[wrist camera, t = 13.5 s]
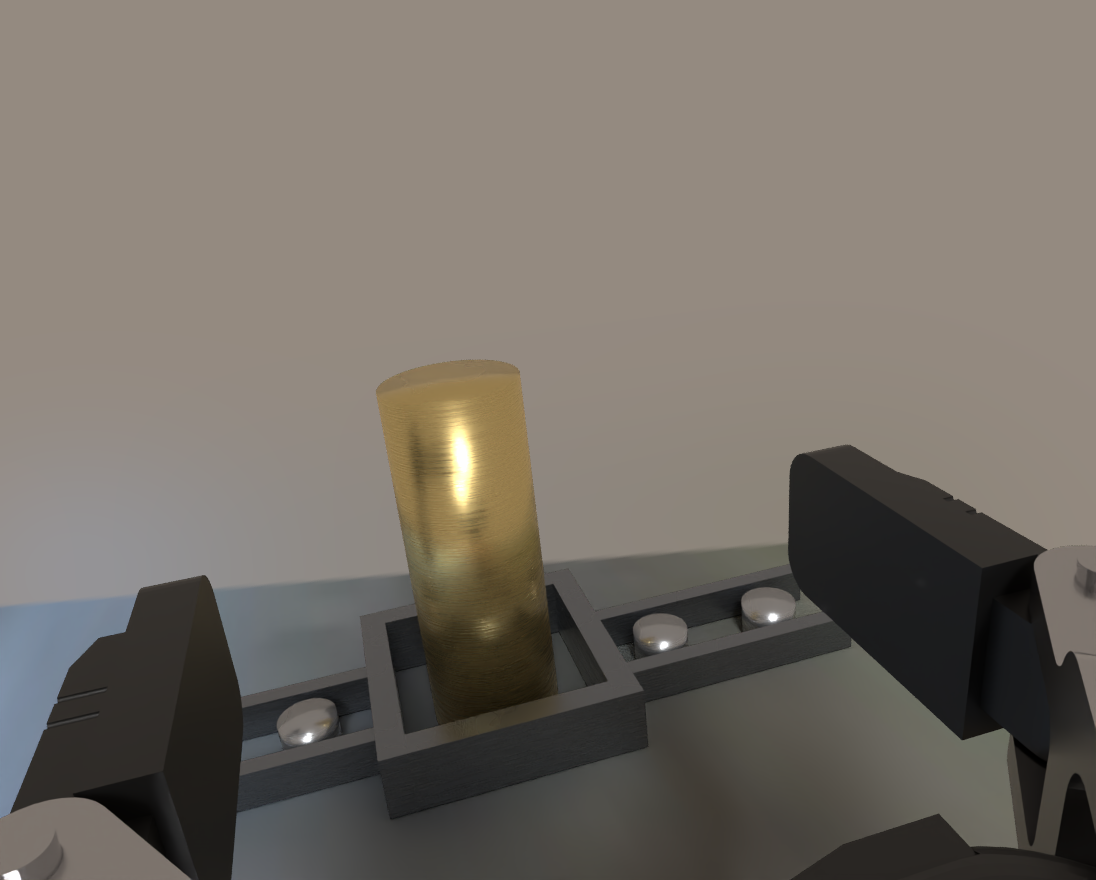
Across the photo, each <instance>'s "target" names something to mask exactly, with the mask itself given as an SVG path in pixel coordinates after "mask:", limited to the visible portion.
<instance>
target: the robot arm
mask: <svg viewBox="0 0 1096 880" xmlns="http://www.w3.org/2000/svg"><path fill="white" fill-rule="evenodd" d="M789 487H790V489H789V539H788V540H789V541H788V555H789V562H790V567H791V570H792V573H793V576H794V578H795V581H796V583H797V584H798V586H799V588H800V589H801V591H802V592H803V593H804V594H805V595H806V596H807V597H808V598H809V599H810V600H811V601H812V602H813V603H814V604H815V605H816V606H818V607H819V608H820V609H821V610H822V611H823V612H824V613H825V614H826V615H827V616H828V617H829V618H831V619H832V620H833V621H834V622H835V623H836V624H837V625H838V626H839V627H840V628H841V629H842V630H843V631H845V632H846V633H847V634H848V635H849V636H850V637H851V638H852V639H853V640H854V641H855V642H856V643H858V644H859V645H860V646H861V647H862V648H863V649H864V650H865V651H866V652H867V653H868V654H869V655H870V656H872V657H873V658H874V659H875V660H876V661H877V662H878V663H879V664H880V665H881V666H882V667H883V668H885V669H886V670H887V671H888V672H889V673H890V674H891V675H892V676H893V677H894V678H895V679H896V680H897V681H899V682H900V683H901V684H902V685H903V686H904V687H905V688H906V689H907V690H908V691H909V692H910V693H912V694H913V695H914V696H915V697H916V698H917V699H918V700H919V701H920V702H921V703H922V704H923V705H924V706H926V707H927V708H928V709H929V710H930V711H931V712H932V713H933V714H934V715H935V716H936V717H937V718H938V719H940V720H941V721H942V722H943V723H944V724H945V725H946V726H947V727H948V728H949V729H950V730H951V731H953V732H954V733H955V734H956V735H957V736H958V737H959V738H960V739H961V740H965V739H969V738H972V737H975V736H978V735H982V734H985V733H988V732H992V731H995V730H998V729H1002V728H1004V729H1006V730H1007V731H1008V732H1009V733H1010V737H1009V744H1008V751H1007V765H1008V772H1009V780H1010V788H1011V795H1012V803H1013V811H1014V818H1015V826H1016V834H1017V841H1018V849H1015V848H1007V847H985V846H976V847H969V846H968V844H967V843H966V842H965V841H964V840H963V839H962V838H961V837H960V836H959V835H958V834H957V833H956V832H955V831H954V829H953V828H952V827H951V826H950V825H949V824H948V823H947V822H946V821H945V820H944V819H943V818H942V817H941V815H940V814H936V815H933V816H930V817H927V818H924V819H921V820H918V821H914V822H911V823H908V824H905V825H902V826H899V827H896V828H893V829H890V830H886V831H883V832H880V833H877V834H874V835H871V836H868V837H865V838H862V839H858V840H855V841H852V842H849V843H846V844H843V845H842V846H840V847H839V848H837V849H836V850H834V851H833V852H831V853H830V854H828V855H827V856H825V857H824V858H822V859H821V860H819V861H818V862H816V863H815V864H813V865H812V866H810V867H809V868H807V869H806V870H804V871H803V872H801V873H800V874H798V875H797V876H795V877H794V878H792V879H791V880H1096V546H1088V545H1074V546H1073V545H1071V546H1062V547H1058V548H1053V549H1050V550H1047V549H1045V548H1043V547H1041V546H1040V545H1038V544H1036V543H1034V542H1033V541H1031V540H1029V539H1027V538H1026V537H1024V536H1022V535H1020V534H1018V533H1017V532H1015V531H1013V530H1012V529H1010V528H1008V527H1006V526H1004V525H1003V524H1001V523H999V522H997V521H996V520H994V519H992V518H990V517H989V516H987V515H985V514H983V513H976V509H974V508H973V507H971V506H969V505H967V504H966V503H964V502H962V501H960V500H959V499H957V500H954V499H953V496H952V495H950V494H948V493H946V492H945V491H943V490H941V489H939V488H938V487H936V486H934V485H932V484H931V483H929V482H927V481H925V480H922V479H919V478H915V477H912V476H909V475H905V474H902V473H899V472H896V471H894V470H893V469H891V468H889V467H888V466H886V465H884V464H882V463H880V462H879V461H877V460H876V459H874V458H872V457H870V456H869V455H867V454H865V453H864V452H862V451H860V450H858V449H857V448H855V447H853V446H851V445H843V446H837V447H832V448H827V449H822V450H818V451H813V452H808V453H803V454H799V455H797V456H796V457H795V458H794V460H793V461H792V464H791V468H790V485H789ZM57 699H58V703H57V704H54V707H53V709H52V712H51V714H50V717H49V719H48V721H47V729H46V730H44V731H43V734H42V736H41V739H40V741H39V744H38V746H37V748H36V751H35V753H34V756H33V758H32V761H31V763H30V766H29V768H28V771H27V773H26V775H25V778H24V780H23V783H22V785H21V788H20V790H19V793H18V795H17V798H16V800H15V802H14V805H13V807H12V810H11V812H10V814H9V815H7V816H5V817H2V818H1V819H0V880H231V875H232V863H233V850H234V838H235V826H236V813H237V801H238V789H239V776H240V764H241V752H242V739H243V711H242V702H241V695H240V690H239V685H238V680H237V676H236V673H235V669H234V665H233V662H232V658H231V654H230V651H229V647H228V643H227V640H226V636H225V632H224V629H223V625H222V621H221V618H220V614H219V610H218V607H217V603H216V599H215V596H214V592H213V589H212V586H211V584H210V582H209V580H208V578H207V577H206V576H205V575H202V576H198V577H193V578H188V579H183V580H178V581H173V582H168V583H163V584H158V585H154V586H149V587H144V588H141V589H140V590H139V592H138V595H137V598H136V601H135V604H134V607H133V610H132V614H131V617H130V620H129V623H128V626H127V629H126V632H124V633H120V634H115V635H110V636H106V637H101V638H98V639H97V640H96V641H95V642H94V643H93V644H92V645H91V646H90V647H89V648H88V649H87V650H86V652H85V653H84V654H83V655H82V656H81V657H80V658H79V659H78V660H77V661H76V662H75V663H74V664H73V665H72V666H71V667H70V668H69V670H68V672H67V675H66V677H65V680H64V682H63V685H62V687H61V690H60V692H59V694H58V697H57Z"/></svg>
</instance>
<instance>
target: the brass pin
mask: <svg viewBox="0 0 1096 880" xmlns="http://www.w3.org/2000/svg"><path fill="white" fill-rule="evenodd" d="M376 395H377V400H378V406H379V411H380V416H381V422H382V427H383V433H384V438H385V444H386V449H387V454H388V460H389V465H390V471H391V475H392V481H393V487H394V492H395V498H396V503H397V508H398V514H399V518H400V524H401V530H402V535H403V541H404V546H405V550H406V557H407V562H408V567H409V573H410V578H411V584H412V589H413V594H414V600H415V605H416V611H417V616H418V621H419V627H420V632H421V637H422V643H423V648H424V654H425V659H426V664H427V670H428V675H429V680H430V686H431V691H432V697H433V702H434V707H435V713H436V718H437V721H438V724H439V725H443V724H447V723H451V722H455V721H458V720H462V719H466V718H470V717H474V716H477V715H481V714H485V713H489V712H493V711H497V710H500V709H504V708H508V707H512V706H516V705H519V704H523V703H527V702H531V701H535V700H539V699H542V698H546V697H550V696H554V695H558V687H557V679H556V671H555V662H554V654H553V646H552V637H551V629H550V621H549V612H548V604H547V596H546V588H545V579H544V571H543V563H542V555H541V547H540V538H539V530H538V521H537V513H536V504H535V496H534V488H533V479H532V472H531V463H530V455H529V446H528V438H527V430H526V422H525V413H524V405H523V396H522V388H521V380H520V372H519V370H518V368H516V367H515V366H513V365H511V364H508V363H504V362H500V361H493V360H461V361H450V362H443V363H437V364H432V365H427V366H422V367H418V368H415V369H411V370H408V371H405V372H402V373H400V374H397V375H395V376H393V377H391V378H389V379H387V380H386V381H384V382H383V383H381V384H380V385H379V386H378V388H377V390H376Z"/></svg>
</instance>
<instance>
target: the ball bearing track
mask: <svg viewBox="0 0 1096 880" xmlns="http://www.w3.org/2000/svg"><path fill="white" fill-rule="evenodd" d="M544 579H545V588H546V596H547V604H548V612H549V621H550V629H551V633H554V632H558V631H559V632H560V634H561V636H562V638H563V640H564V642H565V644H566V646H567V648H568V650H569V652H570V654H571V656H572V657H573V659H574V661H575V663H576V665H577V667H578V669H579V671H580V673H581V675H582V677H583V679H584V681H585V682H586V684H587V686H588V687H584V688H581V689H577V690H573V691H569V692H565V693H561V694H558V695H554V696H550V697H546V698H542V699H539V700H535V701H531V702H527V703H523V704H519V705H516V706H512V707H508V708H504V709H500V710H497V711H493V712H489V713H485V714H481V715H477V716H474V717H470V718H466V719H462V720H458V721H455V722H451V723H447V724H443V725H439V726H435V727H432V728H428V729H424V730H420V731H416V732H412V733H409V734H406V733H405V727H404V721H403V715H402V710H401V704H400V698H399V692H398V687H397V681H396V675H395V671H399V670H403V669H407V668H412V667H416V666H420V665H424V664H426V659H425V654H424V648H423V643H422V637H421V632H420V627H419V621H418V616H417V611H416V605H415V604H412V605H408V606H403V607H399V608H395V609H390V610H386V611H382V612H377V613H373V614H369V615H364V616H360V620H361V628H362V637H363V645H364V653H365V661H366V667H363V668H359V669H355V670H351V671H347V672H343V673H338V674H334V675H330V676H326V677H322V678H318V679H314V680H310V681H305V682H301V683H297V684H293V685H289V686H285V687H281V688H277V689H273V690H268V691H264V692H260V693H256V694H252V695H248V696H244V697H241V702H242V711H243V739H242V741H243V740H247V739H251V738H255V737H259V736H263V735H267V734H270V733H274V732H278V733H279V737H280V741H281V744H282V748H283V751H280V752H277V753H273V754H269V755H265V756H261V757H257V758H253V759H249V760H246V761H242V762H241V764H240V776H239V789H238V801H237V812H239V811H243V810H247V809H251V808H254V807H258V806H262V805H265V804H269V803H273V802H276V801H280V800H284V799H288V798H291V797H295V796H299V795H302V794H306V793H310V792H314V791H317V790H321V789H325V788H328V787H332V786H336V785H339V784H343V783H347V782H351V781H354V780H358V779H362V778H365V777H369V776H373V775H377V774H381V779H382V783H383V788H384V792H385V797H386V801H387V806H388V810H389V815H390V819H392V818H396V817H399V816H403V815H406V814H410V813H413V812H417V811H421V810H424V809H428V808H431V807H435V806H438V805H442V804H445V803H449V802H452V801H456V800H460V799H463V798H467V797H470V796H474V795H477V794H481V793H484V792H488V791H492V790H495V789H499V788H502V787H506V786H509V785H513V784H516V783H520V782H523V781H527V780H531V779H534V778H538V777H541V776H545V775H548V774H552V773H555V772H559V771H563V770H566V769H570V768H573V767H577V766H580V765H584V764H587V763H591V762H595V761H598V760H602V759H605V758H609V757H612V756H616V755H619V754H623V753H626V752H630V751H634V750H637V749H641V748H644V747H648V739H647V726H646V713H645V702H647V701H651V700H655V699H658V698H662V697H666V696H669V695H673V694H677V693H681V692H684V691H688V690H692V689H695V688H699V687H703V686H706V685H710V684H714V683H718V682H721V681H725V680H729V679H732V678H736V677H740V676H744V675H747V674H751V673H755V672H758V671H762V670H766V669H769V668H773V667H777V666H781V665H784V664H788V663H792V662H795V661H799V660H803V659H807V658H810V657H814V656H818V655H821V654H825V653H829V652H832V651H836V650H840V649H844V648H847V647H851V637H850V636H849V635H848V634H847V633H846V632H845V631H843V630H842V629H841V628H840V627H839V626H838V625H837V624H836V623H835V622H834V621H833V620H832V619H831V618H829V617H828V616H827V615H826V614H825V613H824V612H819V613H815V614H811V615H807V616H804V617H800V618H796V619H795V601H796V600H800V588H799V586H798V584H797V583H796V581H795V578H794V576H793V573H792V570H791V567H790V564H787V565H783V566H779V567H775V568H771V569H767V570H763V571H759V572H754V573H750V574H746V575H742V576H738V577H734V578H730V579H726V580H721V581H717V582H713V583H709V584H705V585H701V586H697V587H693V588H689V589H684V590H680V591H676V592H672V593H668V594H664V595H660V596H656V597H651V598H647V599H643V600H639V601H635V602H631V603H627V604H623V605H618V606H614V607H610V608H606V609H602V610H598V611H594V609H593V608H592V606H591V604H590V603H589V601H588V599H587V598H586V596H585V595H584V593H583V591H582V590H581V588H580V586H579V585H578V583H577V582H576V580H575V578H574V577H573V575H572V574H571V572H570V570H569V569H564V570H560V571H555V572H551V573H547V574H544ZM741 614H742V633H738V634H734V635H730V636H726V637H722V638H718V639H714V640H711V641H707V642H703V643H699V644H695V645H691V646H688V635H687V628H689V627H693V626H697V625H701V624H705V623H709V622H713V621H717V620H721V619H725V618H729V617H733V616H737V615H741ZM630 642H634V649H635V660H633V661H629V662H626V661H625V659H624V658H623V656H622V654H621V653H620V651H619V650H618V648H617V646H618V645H622V644H626V643H630ZM369 708H371V710H372V719H373V728H370V729H366V730H362V731H358V732H354V733H350V734H346V735H343V734H342V730H341V726H340V721H339V717H338V716H342V715H346V714H349V713H353V712H357V711H361V710H365V709H369Z"/></svg>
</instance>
